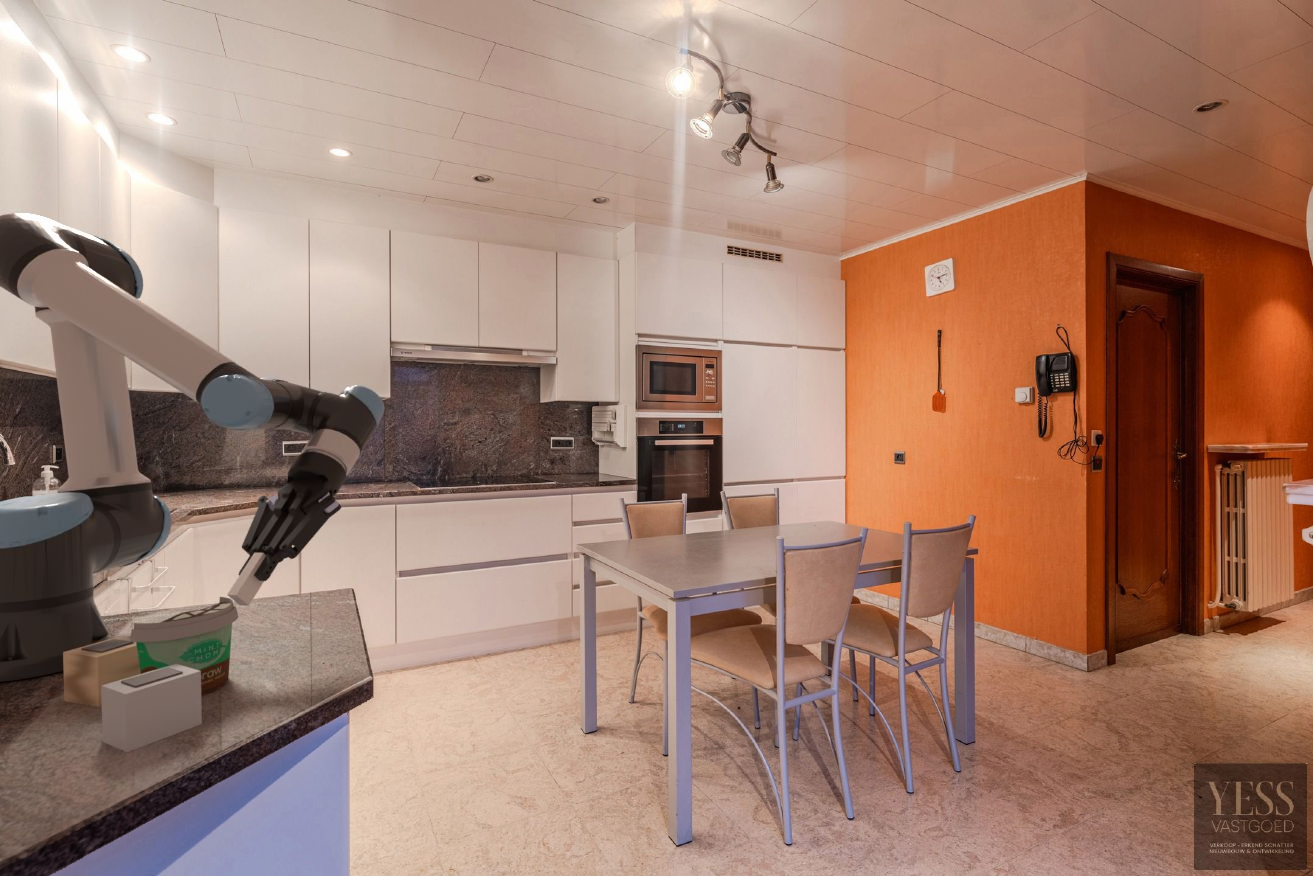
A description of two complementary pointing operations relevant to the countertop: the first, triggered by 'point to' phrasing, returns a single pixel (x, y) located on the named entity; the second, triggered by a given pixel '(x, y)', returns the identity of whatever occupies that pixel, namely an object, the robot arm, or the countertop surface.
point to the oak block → (98, 669)
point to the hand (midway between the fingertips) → (238, 600)
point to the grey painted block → (150, 706)
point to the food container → (190, 643)
